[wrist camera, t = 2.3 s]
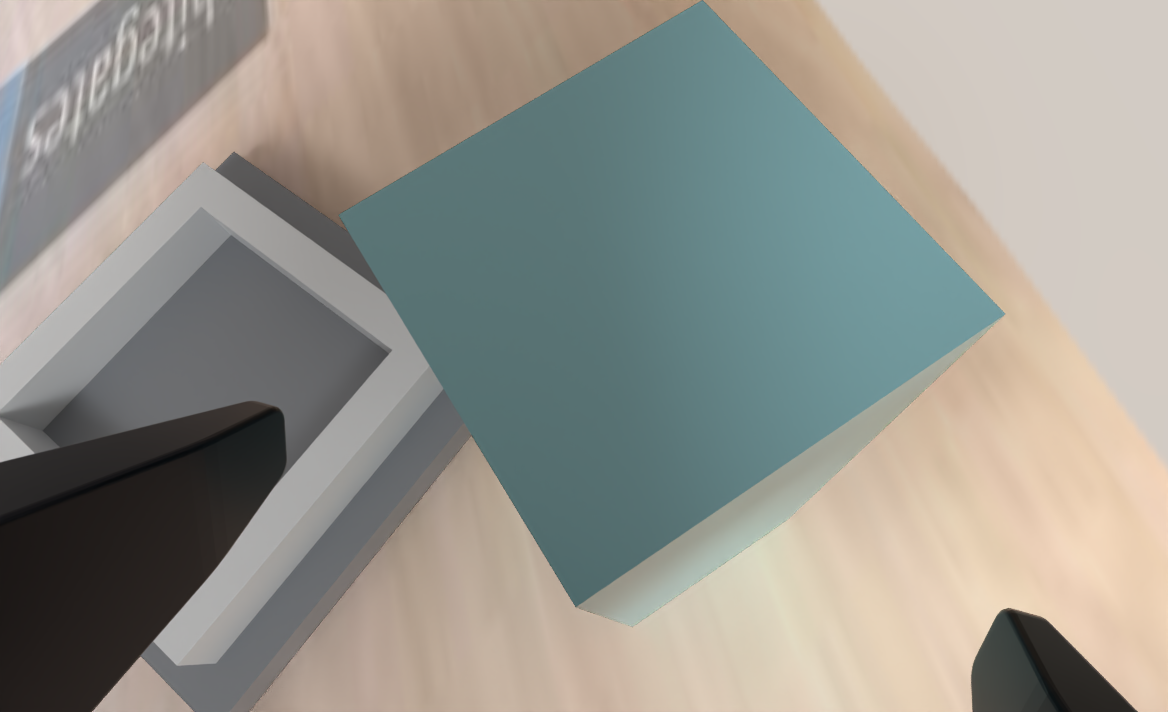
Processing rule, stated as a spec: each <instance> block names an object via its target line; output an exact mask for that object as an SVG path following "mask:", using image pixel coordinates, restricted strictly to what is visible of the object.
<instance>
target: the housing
mask: <svg viewBox="0 0 1168 712" xmlns="http://www.w3.org/2000/svg"><path fill="white" fill-rule="evenodd" d="M339 217H340V219H341V220H342V222H343V224H344V225H345V227H346V229H347V230H348V232H349V233H350V235H351V237H352V238H353V240H354V242H355V243H356V245H357V247H358V248H359V250H360V252H361V253H362V255H363V257H364V258H365V260H366V262H367V263H368V265H369V267H370V268H371V270H372V271H373V273H374V275H375V276H376V278H377V280H378V281H379V283H380V285H381V286H382V288H383V290H384V291H385V293H386V295H387V296H388V298H389V300H390V301H391V303H392V305H393V306H394V308H395V309H396V311H397V313H398V314H399V316H400V318H401V319H402V321H403V323H404V324H405V326H406V328H407V329H408V331H409V333H410V334H411V336H412V338H413V339H414V341H415V343H416V344H417V346H418V347H419V349H420V351H421V352H422V354H423V356H424V357H425V359H426V361H427V362H428V364H429V366H430V367H431V369H432V371H433V372H434V374H435V376H436V377H437V379H438V381H439V382H440V384H441V385H442V387H443V389H444V390H445V392H446V394H447V395H448V397H449V399H450V400H451V402H452V404H453V405H454V407H455V409H456V410H457V412H458V414H459V415H460V417H461V419H462V420H463V422H464V423H465V425H466V427H467V428H468V430H469V432H470V433H471V435H472V437H473V438H474V440H475V442H476V443H477V445H478V447H479V448H480V450H481V452H482V453H483V455H484V457H485V458H486V460H487V461H488V463H489V465H490V466H491V468H492V470H493V471H494V473H495V475H496V476H497V478H498V480H499V481H500V483H501V485H502V486H503V488H504V490H505V491H506V493H507V495H508V496H509V498H510V499H511V501H512V503H513V504H514V506H515V508H516V509H517V511H518V513H519V514H520V516H521V518H522V519H523V521H524V523H525V524H526V526H527V528H528V529H529V531H530V532H531V534H532V536H533V537H534V539H535V541H536V542H537V544H538V546H539V547H540V549H541V551H542V552H543V554H544V556H545V557H546V559H547V561H548V562H549V564H550V566H551V567H552V569H553V570H554V572H555V574H556V575H557V577H558V579H559V580H560V582H561V584H562V585H563V587H564V589H565V590H566V592H567V594H568V595H569V597H570V599H571V600H572V602H573V604H574V605H575V607H577V608H579V609H582V610H585V611H588V612H591V613H594V614H597V615H600V616H603V617H605V618H608V619H611V620H614V621H617V622H620V623H623V624H626V625H629V626H631V627H633V626H635V625H636V624H638V623H639V622H640V621H642V620H643V619H645V618H646V617H648V616H649V615H651V614H652V613H653V612H655V611H656V610H658V609H659V608H661V607H662V606H664V605H665V604H666V603H668V602H669V601H671V600H672V599H674V598H675V597H677V596H678V595H679V594H681V593H682V592H684V591H685V590H687V589H688V588H690V587H691V586H692V585H694V584H695V583H697V582H698V581H700V580H701V579H703V578H704V577H705V576H707V575H708V574H710V573H711V572H713V571H714V570H716V569H717V568H718V567H720V566H721V565H723V564H724V563H726V562H727V561H729V560H730V559H731V558H733V557H734V556H736V555H737V554H739V553H740V552H742V551H743V550H744V549H746V548H747V547H749V546H750V545H752V544H753V543H755V542H756V541H757V540H759V539H760V538H762V537H763V536H765V535H766V534H768V533H769V532H770V531H772V530H773V529H775V528H776V527H778V526H779V525H781V524H782V523H783V522H785V521H786V520H788V519H789V518H790V517H791V516H792V515H793V514H794V513H795V512H796V511H797V510H798V509H799V508H801V507H802V506H803V505H804V504H805V503H806V502H807V501H808V500H809V499H810V498H811V497H812V496H813V495H814V494H815V493H816V492H817V491H819V490H820V489H821V488H822V487H823V486H824V485H825V484H826V483H827V482H828V481H829V480H830V479H831V478H832V477H833V476H834V475H836V474H837V473H838V472H839V471H840V470H841V469H842V468H843V467H844V466H845V465H846V464H847V463H848V462H849V461H850V460H851V459H852V458H854V457H855V456H856V455H857V454H858V453H859V452H860V451H861V450H862V449H863V448H864V447H865V446H866V445H867V444H868V443H869V442H870V441H872V440H873V439H874V438H875V437H876V436H877V435H878V434H879V433H880V432H881V431H882V430H883V429H884V428H885V427H886V426H887V425H888V424H890V423H891V422H892V421H893V420H894V419H895V418H896V417H897V416H898V415H899V414H900V413H901V412H902V411H903V410H904V409H905V408H907V407H908V406H909V405H910V404H911V403H912V402H913V401H914V400H915V399H916V398H917V397H918V396H919V395H920V394H921V393H922V392H923V391H925V390H926V389H927V388H928V387H929V386H930V385H931V384H932V383H933V382H934V381H935V380H936V379H937V378H938V377H939V376H940V375H941V374H943V373H944V372H945V371H946V370H947V369H948V368H949V367H950V366H951V365H952V364H953V363H954V362H955V361H956V360H957V359H958V358H959V357H961V356H962V355H963V354H964V353H965V352H966V351H967V350H968V349H969V348H970V347H971V346H972V345H973V344H974V343H975V342H976V341H978V340H979V339H980V338H981V337H982V336H983V335H984V334H985V333H986V332H987V331H988V330H989V329H990V328H991V327H992V326H993V325H994V324H996V323H997V322H998V321H999V320H1000V319H1001V318H1002V317H1003V316H1004V315H1005V313H1004V312H1003V311H1002V310H1001V309H1000V308H999V307H998V306H997V305H996V304H995V303H994V302H993V301H992V300H991V299H990V297H989V296H988V295H987V294H986V293H985V292H984V291H983V290H982V289H981V288H980V287H979V286H978V285H977V284H976V283H975V282H974V281H973V280H972V279H971V278H970V277H969V276H968V275H967V274H966V273H965V272H964V271H963V269H962V268H961V267H960V266H959V265H958V264H957V263H956V262H955V261H954V260H953V259H952V258H951V257H950V256H949V255H948V254H947V253H946V252H945V251H944V250H943V249H942V248H941V247H940V246H939V245H938V244H937V243H936V241H935V240H934V239H933V238H932V237H931V236H930V235H929V234H928V233H927V232H926V231H925V230H924V229H923V228H922V227H921V226H920V225H919V224H918V223H917V222H916V221H915V220H914V219H913V218H912V217H911V216H910V215H909V213H908V212H907V211H906V210H905V209H904V208H903V207H902V206H901V205H900V204H899V203H898V202H897V201H896V200H895V199H894V198H893V197H892V196H891V195H890V194H889V193H888V192H887V191H886V190H885V189H884V188H883V187H882V186H881V184H880V183H879V182H878V181H877V180H876V179H875V178H874V177H873V176H872V175H871V174H870V173H869V172H868V171H867V170H866V169H865V168H864V167H863V166H862V165H861V164H860V163H859V162H858V161H857V160H856V159H855V158H854V156H853V155H852V154H851V153H850V152H849V151H848V150H847V149H846V148H845V147H844V146H843V145H842V144H841V143H840V142H839V141H838V140H837V139H836V138H835V137H834V136H833V135H832V134H831V133H830V132H829V131H828V130H827V128H826V127H825V126H824V125H823V124H822V123H821V122H820V121H819V120H818V119H817V118H816V117H815V116H814V115H813V114H812V113H811V112H810V111H809V110H808V109H807V108H806V107H805V106H804V105H803V104H802V103H801V102H800V100H799V99H798V98H797V97H796V96H795V95H794V94H793V93H792V92H791V91H790V90H789V89H788V88H787V87H786V86H785V85H784V84H783V83H782V82H781V81H780V80H779V79H778V78H777V77H776V76H775V75H774V74H773V73H772V71H771V70H770V69H769V68H768V67H767V66H766V65H765V64H764V63H763V62H762V61H761V60H760V59H759V58H758V57H757V56H756V55H755V54H754V53H753V52H752V51H751V50H750V49H749V48H748V47H747V46H746V45H745V43H744V42H743V41H742V40H741V39H740V38H739V37H738V36H737V35H736V34H735V33H734V32H733V31H732V30H731V29H730V28H729V27H728V26H727V25H726V24H725V23H724V22H723V21H722V20H721V19H720V18H719V17H718V15H717V14H716V13H715V12H714V11H713V10H712V9H711V8H710V7H709V6H708V5H707V4H706V3H705V2H704V1H703V0H702V1H700V2H698V3H697V4H695V5H693V6H692V7H690V8H688V9H686V10H685V11H683V12H681V13H680V14H678V15H676V16H675V17H673V18H671V19H670V20H668V21H666V22H664V23H663V24H661V25H659V26H658V27H656V28H654V29H653V30H651V31H649V32H647V33H646V34H644V35H642V36H641V37H639V38H637V39H636V40H634V41H632V42H631V43H629V44H627V45H625V46H624V47H622V48H620V49H619V50H617V51H615V52H614V53H612V54H610V55H608V56H607V57H605V58H603V59H602V60H600V61H598V62H597V63H595V64H593V65H592V66H590V67H588V68H586V69H585V70H583V71H581V72H580V73H578V74H576V75H575V76H573V77H571V78H570V79H568V80H566V81H564V82H563V83H561V84H559V85H558V86H556V87H554V88H553V89H551V90H549V91H547V92H546V93H544V94H542V95H541V96H539V97H537V98H536V99H534V100H532V101H531V102H529V103H527V104H525V105H524V106H522V107H520V108H519V109H517V110H515V111H514V112H512V113H510V114H508V115H507V116H505V117H503V118H502V119H500V120H498V121H497V122H495V123H493V124H492V125H490V126H488V127H486V128H485V129H483V130H481V131H480V132H478V133H476V134H475V135H473V136H471V137H469V138H468V139H466V140H464V141H463V142H461V143H459V144H458V145H456V146H454V147H453V148H451V149H449V150H447V151H446V152H444V153H442V154H441V155H439V156H437V157H436V158H434V159H432V160H431V161H429V162H427V163H425V164H424V165H422V166H420V167H419V168H417V169H415V170H414V171H412V172H410V173H408V174H407V175H405V176H403V177H402V178H400V179H398V180H397V181H395V182H393V183H392V184H390V185H388V186H386V187H385V188H383V189H381V190H380V191H378V192H376V193H375V194H373V195H371V196H369V197H368V198H366V199H364V200H363V201H361V202H359V203H358V204H356V205H354V206H353V207H351V208H349V209H347V210H346V211H344V212H342V213H341V214H339Z"/></svg>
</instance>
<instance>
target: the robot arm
mask: <svg viewBox="0 0 1168 712" xmlns="http://www.w3.org/2000/svg"><path fill="white" fill-rule="evenodd" d="M286 463H287V448H286V431H285V418H284V414H283V412H282V410H281V409H280V408H278V407H277V406H273V405H269V404H266V403H262V402H259V401H251V400H250V401H245V402H241V403H237V404H233V405H229V406H225V407H221V408H217V409H213V410H209V411H205V412H201V413H197V414H193V415H189V416H185V417H181V418H177V419H173V420H169V421H164V422H160V423H156V424H152V425H148V426H144V427H140V428H136V429H132V430H128V431H124V432H120V433H116V434H112V435H108V436H104V437H100V438H96V439H92V440H88V441H84V442H80V443H75V444H71V445H67V446H63V447H59V448H55V449H51V450H47V451H43V452H39V453H35V454H31V455H27V456H23V457H19V458H15V459H11V460H7V461H3V462H0V712H92V711H93V710H94V709H95V708H96V706H97V705H98V704H99V703H100V702H101V701H102V700H103V698H104V697H105V696H106V695H107V694H108V693H109V692H110V690H111V689H112V688H113V687H114V686H115V685H116V684H117V682H118V681H119V680H120V679H121V678H122V677H123V675H124V674H125V673H126V672H127V671H128V670H129V669H130V667H131V666H132V665H133V664H134V663H135V662H136V661H137V659H138V658H139V657H140V656H141V655H142V654H143V652H144V651H145V650H146V649H147V648H148V647H149V646H150V644H151V643H152V642H153V641H154V640H155V639H156V638H157V636H158V635H159V634H160V633H161V632H162V631H163V630H164V628H165V627H166V626H167V625H168V624H169V623H170V621H171V620H172V619H173V618H174V617H175V616H176V615H177V613H178V612H179V611H180V610H181V609H182V608H183V607H184V605H185V604H186V603H187V602H188V601H189V600H190V599H191V597H192V596H193V595H194V594H195V593H196V592H197V590H198V589H199V588H200V587H201V586H202V585H203V584H204V582H205V581H206V580H207V579H208V578H209V576H210V575H211V574H212V573H213V572H214V570H215V569H216V568H217V567H218V565H219V564H220V563H221V561H222V560H223V559H224V557H225V556H226V555H227V553H228V552H229V551H230V549H231V548H232V547H233V545H234V544H235V542H236V541H237V539H238V538H239V537H240V535H241V534H242V532H243V531H244V530H245V528H246V527H247V525H248V524H249V522H250V521H251V520H252V518H253V517H254V515H255V514H256V513H257V511H258V510H259V508H260V507H261V505H262V504H263V503H264V501H265V500H266V498H267V497H268V496H269V494H270V493H271V491H272V490H273V488H274V487H275V486H276V484H277V483H278V481H279V480H280V478H281V477H282V475H283V473H284V471H285V468H286ZM971 689H972V710H973V712H1137V711H1136V710H1135V709H1134V708H1133V707H1132V706H1131V705H1130V704H1129V703H1128V702H1127V700H1126V699H1125V698H1124V697H1123V696H1122V695H1121V694H1120V693H1119V692H1118V691H1117V690H1116V689H1115V688H1114V687H1113V686H1112V685H1111V684H1110V683H1109V682H1108V681H1107V680H1106V679H1105V678H1104V677H1103V676H1102V675H1101V674H1100V673H1099V672H1098V671H1097V670H1096V669H1095V668H1094V667H1093V666H1092V665H1091V664H1090V663H1089V662H1088V661H1087V660H1086V659H1085V658H1084V657H1083V656H1082V655H1081V654H1080V653H1079V652H1078V651H1077V650H1076V649H1075V648H1074V647H1073V646H1072V645H1071V644H1070V643H1069V642H1068V641H1067V640H1066V639H1065V638H1064V637H1063V636H1062V635H1061V634H1060V633H1059V632H1058V631H1057V630H1056V629H1055V628H1054V627H1053V626H1052V625H1051V624H1050V623H1049V622H1048V621H1047V620H1046V619H1044V618H1042V617H1040V616H1037V615H1033V614H1030V613H1026V612H1022V611H1019V610H1015V609H1011V608H1007V609H1003V610H1001V611H1000V612H999V613H998V615H997V616H996V618H995V620H994V622H993V624H992V626H991V628H990V630H989V632H988V634H987V636H986V638H985V640H984V642H983V643H982V645H981V647H980V649H979V651H978V653H977V655H976V657H975V660H974V663H973V667H972V674H971Z"/></svg>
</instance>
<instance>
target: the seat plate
mask: <svg viewBox="0 0 1168 712" xmlns="http://www.w3.org/2000/svg"><path fill="white" fill-rule="evenodd" d="M250 400H251V401H259V402H262V403H266V404H269V405H273V406H277V407H278V408H280V409H281V410H282V412H283V414H284V418H285V431H286V448H287V463H286V468H285V471H284V473H283V475H282V477H281V478H280V480H279V481H278V483H277V484H276V486H275V487H274V488H273V490H272V491H271V493H270V494H269V496H268V497H267V498H266V500H265V501H264V503H263V504H262V505H261V507H260V508H259V510H258V511H257V513H256V514H255V515H254V517H253V518H252V520H251V521H250V522H249V524H248V525H247V527H246V528H245V530H244V531H243V532H242V534H241V535H240V537H239V538H238V539H237V541H236V542H235V544H234V545H233V547H232V548H231V549H230V551H229V552H228V553H227V555H226V556H225V557H224V559H223V560H222V561H221V563H220V564H219V565H218V567H217V568H216V569H215V570H214V572H213V573H212V574H211V575H210V576H209V578H208V579H207V580H206V581H205V582H204V584H203V585H202V586H201V587H200V588H199V589H198V590H197V592H196V593H195V594H194V595H193V596H192V597H191V599H190V600H189V601H188V602H187V603H186V604H185V605H184V607H183V608H182V609H181V610H180V611H179V612H178V613H177V615H176V616H175V617H174V618H173V619H172V620H171V621H170V623H169V624H168V625H167V626H166V627H165V628H164V630H163V631H162V632H161V633H160V634H159V635H158V636H157V638H156V639H155V640H154V641H153V642H152V643H151V644H150V646H149V647H148V648H147V649H146V650H145V651H144V652H143V654H142V655H141V657H142V658H143V659H144V660H145V661H146V662H147V663H148V664H149V665H150V666H151V667H152V668H153V669H154V670H155V671H156V672H157V673H158V674H159V675H160V676H161V677H162V678H163V679H164V680H165V681H166V683H167V684H168V685H169V686H170V687H171V688H172V689H173V690H174V691H175V692H176V693H177V694H178V695H179V696H180V697H181V698H182V699H183V700H184V701H185V702H186V703H187V704H188V705H189V706H190V707H191V708H192V710H193V711H194V712H249V711H250V710H251V708H252V707H253V706H254V705H255V703H256V702H257V701H258V700H259V699H260V697H261V696H262V695H263V694H264V692H265V691H266V690H267V689H268V687H269V686H270V685H271V684H272V682H273V681H274V680H275V679H276V677H277V676H278V675H279V674H280V672H281V671H282V670H283V669H284V667H285V666H286V665H287V664H288V662H289V661H290V660H291V659H292V657H293V656H294V655H295V654H296V653H297V651H298V650H299V649H300V648H301V646H302V645H303V644H304V643H305V641H306V640H307V639H308V638H309V636H310V635H311V634H312V633H313V631H314V630H315V629H316V628H317V626H318V625H319V624H320V623H321V621H322V620H323V619H324V618H325V616H326V615H327V614H328V613H329V612H330V610H331V609H332V608H333V607H334V605H335V604H336V603H337V602H338V600H339V599H340V598H341V597H342V595H343V594H344V593H345V592H346V590H347V589H348V588H349V587H350V585H351V584H352V583H353V582H354V580H355V579H356V578H357V577H358V575H359V574H360V573H361V572H362V570H363V569H364V568H365V567H366V566H367V564H368V563H369V562H370V561H371V559H372V558H373V557H374V556H375V554H376V553H377V552H378V551H379V549H380V548H381V547H382V546H383V544H384V543H385V542H386V541H387V539H388V538H389V537H390V536H391V534H392V533H393V532H394V531H395V529H396V528H397V527H398V526H399V524H400V523H401V522H402V521H403V520H404V518H405V517H406V516H407V515H408V513H409V512H410V511H411V510H412V508H413V507H414V506H415V505H416V503H417V502H418V501H419V500H420V498H421V497H422V496H423V495H424V493H425V492H426V491H427V490H428V488H429V487H430V486H431V485H432V483H433V482H434V481H435V480H436V478H437V477H438V476H439V475H440V474H441V472H442V471H443V470H444V469H445V467H446V466H447V465H448V464H449V462H450V461H451V460H452V459H453V457H454V456H455V455H456V454H457V452H458V451H459V450H460V449H461V447H462V446H463V445H464V444H465V442H466V441H467V440H468V439H469V437H470V436H471V433H470V432H469V430H468V428H467V427H466V425H465V423H464V422H463V420H462V419H461V417H460V415H459V414H458V412H457V410H456V409H455V407H454V405H453V404H452V402H451V400H450V399H449V397H448V395H447V394H446V392H445V390H444V389H443V387H442V385H441V384H440V382H439V381H438V379H437V377H436V376H435V374H434V372H433V371H432V369H431V367H430V366H429V364H428V362H427V361H426V359H425V357H424V356H423V354H422V352H421V351H420V349H419V347H418V346H417V344H416V343H415V341H414V339H413V338H412V336H411V334H410V333H409V331H408V329H407V328H406V326H405V324H404V323H403V321H402V319H401V318H400V316H399V314H398V313H397V311H396V309H395V308H394V306H393V305H392V303H391V301H390V300H389V298H388V296H387V295H386V293H385V291H384V290H383V288H382V286H381V285H380V283H379V281H378V280H377V278H376V276H375V275H374V273H373V271H372V270H371V268H370V267H369V265H368V263H367V262H366V260H365V258H364V257H363V255H362V253H361V252H360V250H359V248H358V247H357V245H356V243H355V242H354V240H353V238H352V237H351V235H350V233H349V232H347V231H346V230H345V229H343V228H342V227H340V226H339V225H337V224H336V223H335V222H333V221H332V220H330V219H329V218H328V217H326V216H325V215H323V214H322V213H320V212H319V211H318V210H316V209H315V208H313V207H312V206H310V205H309V204H308V203H306V202H305V201H303V200H302V199H301V198H299V197H298V196H296V195H295V194H293V193H292V192H291V191H289V190H288V189H286V188H285V187H283V186H282V185H281V184H279V183H278V182H276V181H275V180H273V179H272V178H271V177H269V176H268V175H266V174H265V173H264V172H262V171H261V170H259V169H258V168H256V167H255V166H254V165H252V164H251V163H249V162H248V161H246V160H245V159H244V158H242V157H241V156H239V155H238V154H236V153H235V152H233V153H232V154H231V155H230V156H229V157H228V158H227V159H226V160H225V161H224V162H223V163H222V164H221V165H220V166H219V167H218V168H217V169H216V170H214V169H212V168H211V167H209V166H208V165H207V164H205V163H204V162H203V163H202V164H201V165H200V166H199V167H198V168H197V169H196V170H195V171H194V172H193V173H192V174H191V175H190V176H189V177H188V178H187V179H186V180H185V181H184V182H183V183H182V184H181V185H180V186H179V187H178V188H177V189H176V190H175V191H174V192H173V193H172V194H171V195H170V196H169V197H168V198H167V199H166V200H165V201H164V202H163V203H162V204H161V205H160V206H159V207H158V208H157V209H156V210H155V211H154V212H153V213H152V214H151V215H150V216H149V217H148V218H147V219H146V220H145V221H144V222H143V223H142V224H141V225H140V226H139V227H138V228H137V229H136V230H135V231H134V232H133V233H132V234H131V235H130V236H129V237H128V238H127V239H126V240H125V241H124V242H123V243H122V244H121V245H120V246H119V247H118V248H117V249H116V250H115V251H114V252H113V253H112V254H111V255H110V256H109V257H108V258H107V259H106V260H105V261H104V262H103V263H102V264H101V265H100V266H99V267H98V268H97V269H96V270H95V271H94V272H93V273H92V274H91V275H90V276H89V277H88V278H87V279H86V280H85V281H84V282H83V283H82V284H81V285H80V286H79V287H78V288H77V289H75V290H74V291H73V292H72V293H71V294H70V295H69V296H68V297H67V298H66V299H65V300H64V301H63V302H62V303H61V304H60V305H59V306H58V307H57V308H56V309H55V310H54V311H53V312H52V313H51V314H50V315H49V316H48V317H47V318H46V319H45V320H44V321H43V322H42V323H41V324H40V325H39V326H38V327H37V328H36V329H35V330H34V331H33V332H32V333H31V334H30V335H29V336H28V337H27V338H26V339H25V340H24V341H23V342H22V343H21V344H20V345H19V346H18V347H17V348H16V349H15V350H14V351H13V352H12V353H11V354H10V355H9V356H8V357H7V358H6V359H5V360H4V361H3V362H2V363H1V364H0V462H3V461H7V460H11V459H15V458H19V457H23V456H27V455H31V454H35V453H39V452H43V451H47V450H51V449H55V448H59V447H63V446H67V445H71V444H75V443H80V442H84V441H88V440H92V439H96V438H100V437H104V436H108V435H112V434H116V433H120V432H124V431H128V430H132V429H136V428H140V427H144V426H148V425H152V424H156V423H160V422H164V421H169V420H173V419H177V418H181V417H185V416H189V415H193V414H197V413H201V412H205V411H209V410H213V409H217V408H221V407H225V406H229V405H233V404H237V403H241V402H245V401H250Z"/></svg>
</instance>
